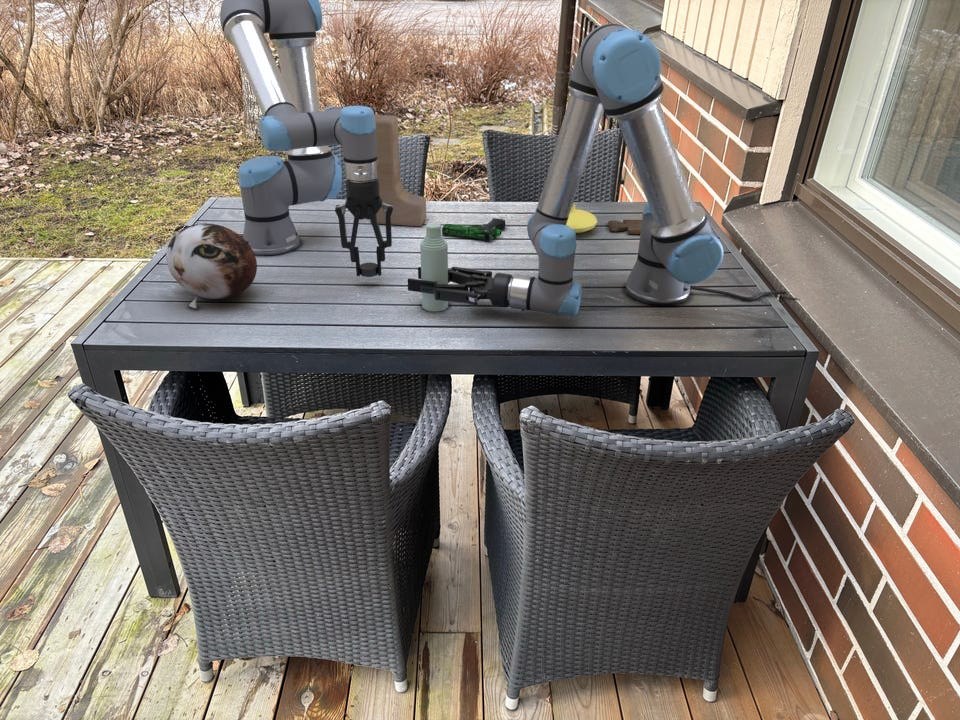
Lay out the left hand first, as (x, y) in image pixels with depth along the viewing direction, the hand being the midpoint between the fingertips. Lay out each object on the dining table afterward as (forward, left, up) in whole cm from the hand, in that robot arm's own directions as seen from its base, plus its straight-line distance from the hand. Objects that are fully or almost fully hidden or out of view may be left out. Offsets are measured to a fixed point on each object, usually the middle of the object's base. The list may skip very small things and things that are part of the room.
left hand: (369, 273), depth 174 cm
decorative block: (-22, +39, -3) cm, 45 cm away
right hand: (+15, -1, +3) cm, 15 cm away
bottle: (+20, 0, -3) cm, 20 cm away
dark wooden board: (+43, +77, -3) cm, 88 cm away
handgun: (+1, +45, -3) cm, 46 cm away
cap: (0, 0, +2) cm, 2 cm away
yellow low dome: (+22, +63, -3) cm, 67 cm away
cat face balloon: (-25, -25, -3) cm, 36 cm away
